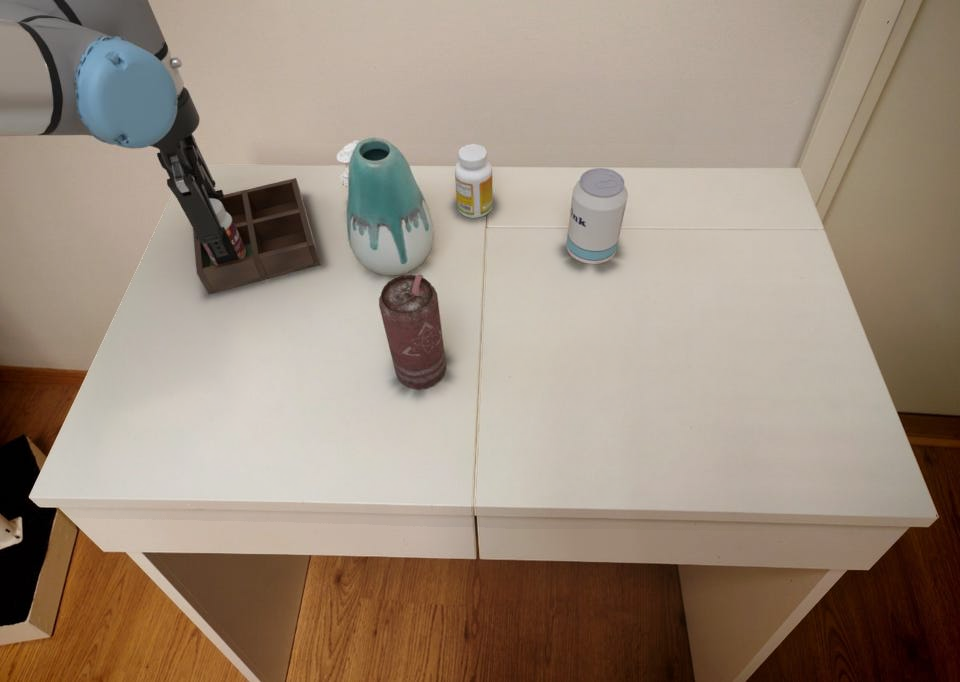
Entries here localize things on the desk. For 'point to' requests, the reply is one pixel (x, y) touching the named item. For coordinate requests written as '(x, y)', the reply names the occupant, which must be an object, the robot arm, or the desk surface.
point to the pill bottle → (227, 230)
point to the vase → (386, 210)
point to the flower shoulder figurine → (346, 159)
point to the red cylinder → (413, 330)
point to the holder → (262, 237)
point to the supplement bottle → (473, 181)
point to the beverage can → (596, 215)
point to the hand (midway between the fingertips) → (229, 254)
